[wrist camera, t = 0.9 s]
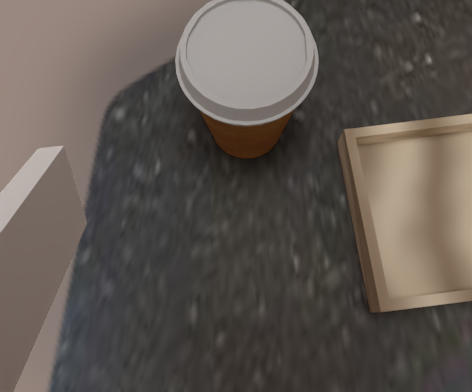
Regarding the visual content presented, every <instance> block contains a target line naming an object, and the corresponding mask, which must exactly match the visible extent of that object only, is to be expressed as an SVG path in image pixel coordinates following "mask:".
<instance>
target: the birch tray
mask: <svg viewBox="0 0 472 392" xmlns="http://www.w3.org/2000/svg"><path fill="white" fill-rule="evenodd" d="M337 147H338V152H339V157H340V162H341V167H342V172H343V178H344V183H345V188H346V193H347V198H348V203H349V208H350V213H351V218H352V223H353V228H354V234H355V239H356V244H357V249H358V254H359V259H360V264H361V269H362V274H363V279H364V284H365V290H366V295H367V300H368V305H369V310H370V313H372V312H387V311H395V310H403V309H411V308H419V307H426V306H434V305H442V304H450V303H458V302H466V301H472V114H466V115H458V116H450V117H442V118H434V119H426V120H418V121H410V122H402V123H393V124H385V125H377V126H369V127H361V128H353V129H345V130H344V131H343V132H342V134H341V136H340V138H339V140H338V142H337Z"/></svg>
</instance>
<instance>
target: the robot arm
mask: <svg viewBox="0 0 472 392" xmlns="http://www.w3.org/2000/svg"><path fill="white" fill-rule="evenodd" d="M86 224H87V221H86V217H85V214H84V211H83V207H82V204H81V201H80V198H79V195H78V191H77V188H76V184H75V181H74V178H73V174H72V171H71V168H70V164H69V161H68V158H67V155H66V151H65V148H64V146H56V147H47V148H38V149H37V150H36V152H35V153H34V154H33V155H32V156H31V158H30V159H29V160H28V161H27V162H26V164H25V165H24V166H23V167H22V168H21V170H20V171H19V172H18V173H17V174H16V175H15V176H14V178H13V179H12V180H11V181H10V182H9V183H8V185H7V186H6V187H5V188H4V189H3V191H2V192H1V193H0V392H13V391H14V389H15V386H16V384H17V382H18V380H19V378H20V375H21V373H22V371H23V368H24V366H25V364H26V362H27V359H28V357H29V355H30V352H31V350H32V348H33V345H34V343H35V341H36V339H37V336H38V334H39V332H40V330H41V327H42V325H43V323H44V320H45V318H46V316H47V313H48V311H49V309H50V306H51V304H52V302H53V300H54V298H55V295H56V293H57V291H58V288H59V286H60V283H61V282H62V279H63V277H64V275H65V272H66V270H67V268H68V266H69V263H70V261H71V259H72V256H73V254H74V252H75V250H76V247H77V245H78V243H79V240H80V238H81V236H82V234H83V231H84V229H85V227H86Z"/></svg>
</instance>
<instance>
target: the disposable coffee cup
mask: <svg viewBox="0 0 472 392" xmlns="http://www.w3.org/2000/svg"><path fill="white" fill-rule="evenodd" d="M318 62H319V61H318V50H317V47H316V43H315V41H314V38H313V36H312V34H311V32H310V29H309V27H308V25H307V24H306V22H305V20H304V19H303V17H302V16H301V15H300V14H299V13H298V12H297V11H296V10H295V9H294V8H293V7H291V6H290V5H289V4H288V3H286V2H284V1H282V0H213V1H211V2H209V3H207V4H206V5H205V6H203V7H202V8H201V9H200V10H199V11H197V12H196V13H195V14H194V16H193V17H192V19H191V20H190V21H189V23H188V24H187V26H186V27H185V30H184V33H183V35H182V37H181V39H180V42H179V44H178V47H177V52H176V58H175V63H176V74H177V77H178V80H179V83H180V86H181V88H182V90H183V92H184V94H185V95H186V96H187V98H188V99H189V100H190V101H191V102H192V104H193V105H194V106H195V107H196V108H198V109H199V110H200V112H201V114H202V116H203V118H204V120H205V122H206V124H207V126H208V127H209V129H210V131H211V133H212V135H213V137H214V139H215V141H216V143H217V144H218V145H219V146H220V148H221V149H222V150H224V151H225V152H226V153H228V154H230V155H232V156H234V157H238V158H244V159H249V158H255V157H259V156H262V155H264V154H266V153H267V152H268V151H270V150H271V149H272V148H273V147H274V146H275V144H276V143H277V141H278V140H279V138H280V136H281V134H282V132H283V130H284V128H285V126H286V124H287V122H288V121H289V119H290V117H291V115H292V113H293V111H294V109H295V108H296V107H297V106H299V105H300V104H301V103H302V102H303V101H304V99H305V98H306V96H307V95H308V93H309V92H310V90H311V89H312V87H313V85H314V82H315V79H316V75H317V72H318Z"/></svg>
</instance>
